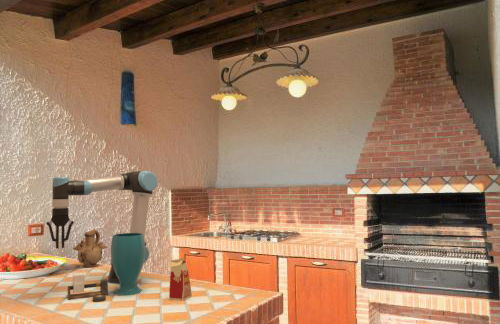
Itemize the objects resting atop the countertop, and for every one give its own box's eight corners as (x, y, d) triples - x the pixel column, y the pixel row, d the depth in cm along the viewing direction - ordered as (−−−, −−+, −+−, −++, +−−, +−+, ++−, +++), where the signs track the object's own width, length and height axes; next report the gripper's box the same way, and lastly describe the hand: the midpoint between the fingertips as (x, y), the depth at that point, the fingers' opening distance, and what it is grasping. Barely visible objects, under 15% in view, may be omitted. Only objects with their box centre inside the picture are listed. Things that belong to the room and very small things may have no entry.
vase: (134, 286, 247) (134, 232, 249) (151, 291, 235) (151, 234, 236) (105, 292, 235) (105, 235, 237) (121, 297, 223) (121, 237, 224)
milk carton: (191, 296, 225) (191, 256, 226) (183, 300, 216) (182, 259, 217) (175, 294, 228) (175, 255, 228) (166, 299, 219) (166, 258, 220)
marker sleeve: (83, 289, 229) (83, 273, 230) (84, 291, 225) (84, 274, 226) (72, 291, 227) (72, 274, 227) (73, 292, 223) (73, 276, 223)
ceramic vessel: (72, 266, 310) (72, 230, 311) (99, 262, 322) (99, 227, 323) (80, 270, 296) (80, 232, 297) (109, 266, 308) (109, 230, 308)
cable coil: (104, 298, 223) (104, 293, 223) (106, 300, 218) (106, 296, 218) (92, 299, 220) (92, 295, 221) (93, 302, 215) (93, 298, 215)
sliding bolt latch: (106, 292, 235) (106, 278, 236) (108, 295, 229) (108, 281, 229) (67, 296, 227) (67, 282, 227) (68, 299, 221) (68, 285, 221)
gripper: (73, 206, 230) (73, 252, 229) (45, 207, 225) (45, 255, 223) (75, 207, 224) (74, 255, 223) (46, 208, 218) (45, 257, 217)
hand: (59, 254), depth 223 cm, fingers closed
